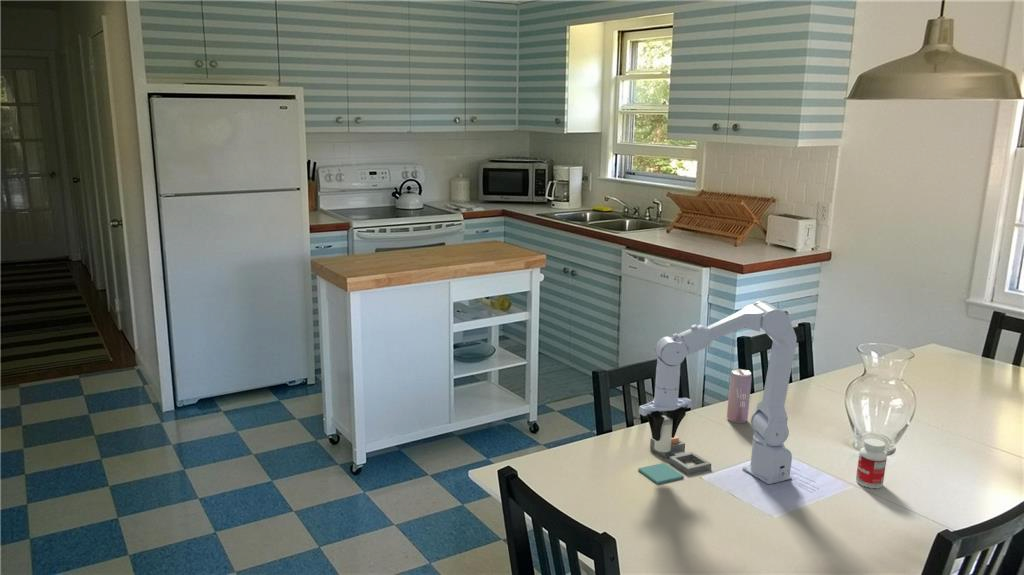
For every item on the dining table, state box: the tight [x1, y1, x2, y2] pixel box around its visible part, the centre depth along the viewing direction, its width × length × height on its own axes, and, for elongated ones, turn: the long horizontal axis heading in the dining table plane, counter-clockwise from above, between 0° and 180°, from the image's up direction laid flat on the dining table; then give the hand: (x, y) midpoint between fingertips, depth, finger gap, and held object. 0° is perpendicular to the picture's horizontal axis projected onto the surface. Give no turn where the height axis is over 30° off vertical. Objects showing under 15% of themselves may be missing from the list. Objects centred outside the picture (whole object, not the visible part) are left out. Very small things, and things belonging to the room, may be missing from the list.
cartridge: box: [654, 415, 673, 452], centre depth 192 cm, size 4×4×8 cm
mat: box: [637, 462, 685, 485], centre depth 194 cm, size 8×8×1 cm
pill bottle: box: [855, 438, 888, 489], centre depth 191 cm, size 6×6×11 cm
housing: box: [649, 437, 712, 475], centre depth 203 cm, size 16×8×3 cm, turn 26°
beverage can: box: [726, 368, 752, 424], centre depth 229 cm, size 6×6×15 cm
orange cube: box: [671, 435, 680, 445], centre depth 207 cm, size 4×4×4 cm
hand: (663, 437), depth 192 cm, fingers closed on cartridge, 4 cm apart
